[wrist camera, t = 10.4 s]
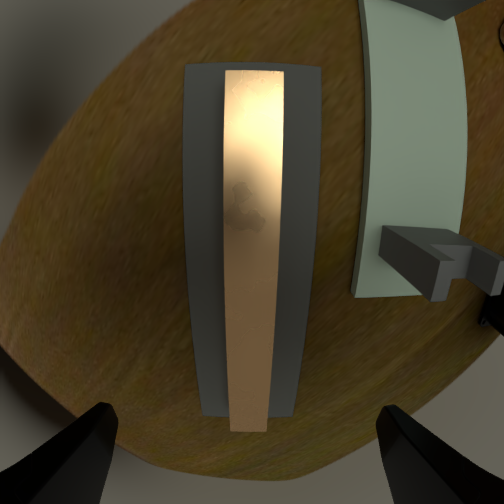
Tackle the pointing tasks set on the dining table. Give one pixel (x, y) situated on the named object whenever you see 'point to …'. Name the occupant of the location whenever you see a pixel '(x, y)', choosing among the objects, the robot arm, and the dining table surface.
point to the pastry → (502, 33)
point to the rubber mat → (212, 226)
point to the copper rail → (251, 238)
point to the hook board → (415, 155)
